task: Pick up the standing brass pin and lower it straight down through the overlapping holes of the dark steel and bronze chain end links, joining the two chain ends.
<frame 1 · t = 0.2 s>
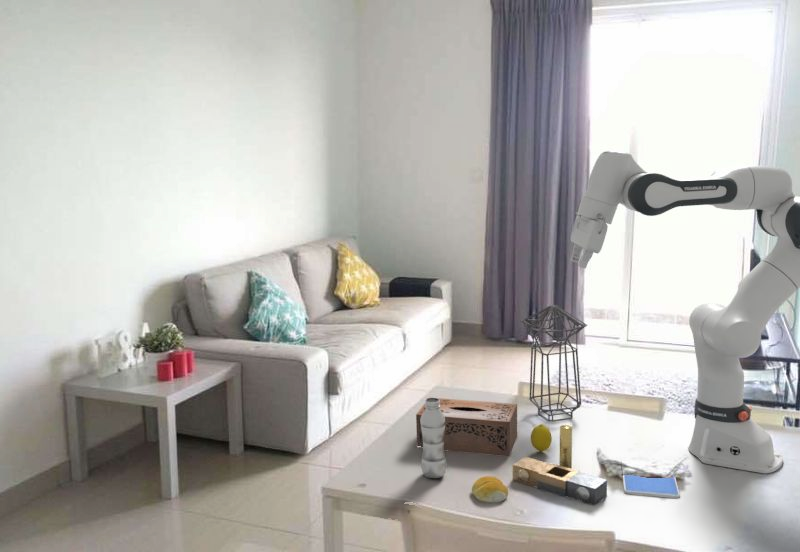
hand: (577, 264, 187), 52 cm above the table, tool tilted 20°, fingers open, 8 cm apart
bronze chain end: (558, 487, 177), on the table
tablet computer: (648, 481, 180), on the table
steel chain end: (558, 487, 177), on the table
lemon: (541, 453, 198), on the table
brass pin: (565, 468, 187), on the table
bread roll: (490, 496, 174), on the table
plastic bottle: (434, 476, 185), on the table
geometric lantern: (552, 417, 224), on the table
tissue box cover: (467, 443, 206), on the table
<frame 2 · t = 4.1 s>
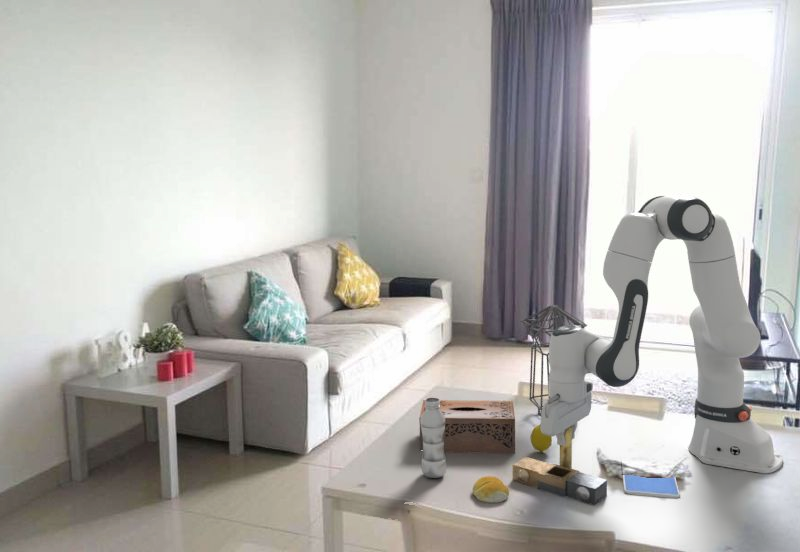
hand: (565, 441, 186), 7 cm above the table, tool pointing down, fingers closed on brass pin, 3 cm apart
brass pin: (565, 468, 187), on the table, touching gripper
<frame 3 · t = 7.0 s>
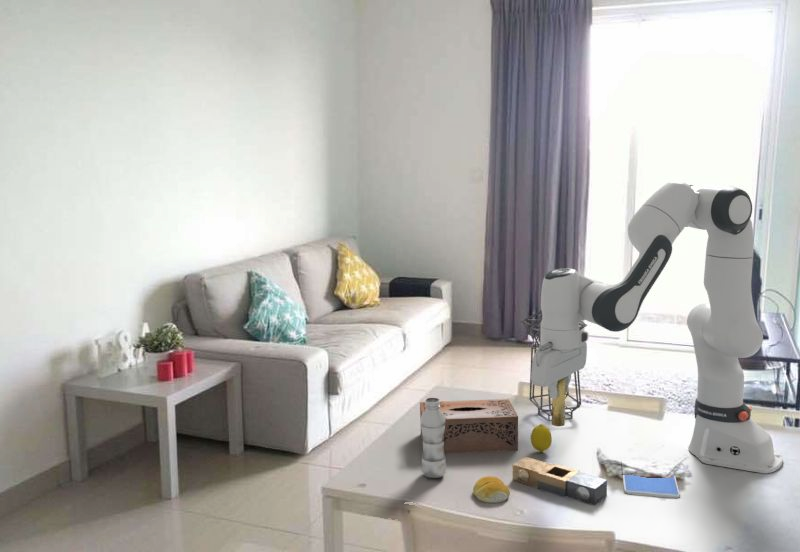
hand: (558, 395, 173), 23 cm above the table, tool pointing down, fingers closed on brass pin, 3 cm apart
brass pin: (558, 424, 174), point 16 cm above the table, touching gripper
when the fingers open (9 cm above the table, at t = 9.9 s): brass pin drops 1 cm, resting in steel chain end.
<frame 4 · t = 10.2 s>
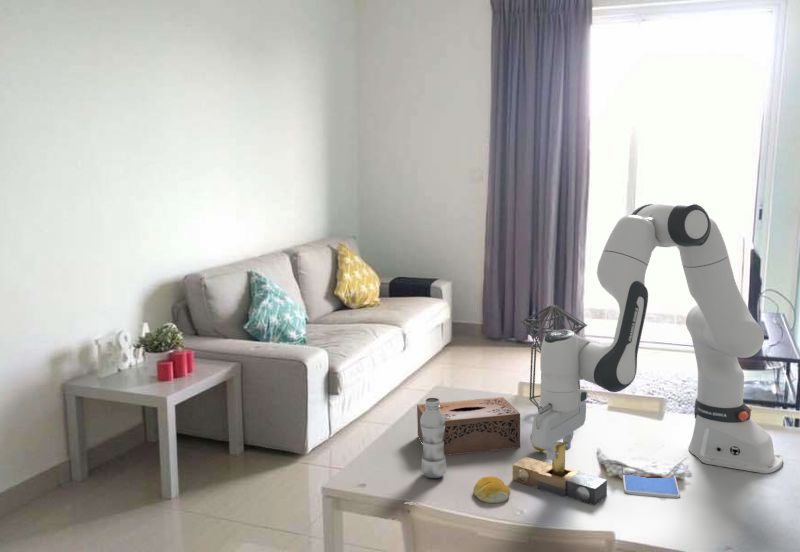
hand: (558, 453, 175), 9 cm above the table, tool pointing down, fingers open, 5 cm apart
brass pin: (558, 487, 177), resting in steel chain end
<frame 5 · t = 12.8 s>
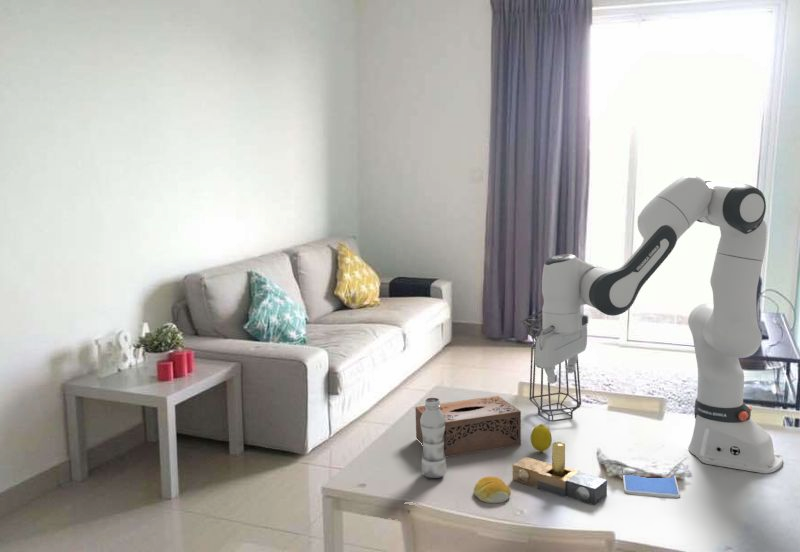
hand: (561, 377, 178), 26 cm above the table, tool pointing down, fingers open, 8 cm apart
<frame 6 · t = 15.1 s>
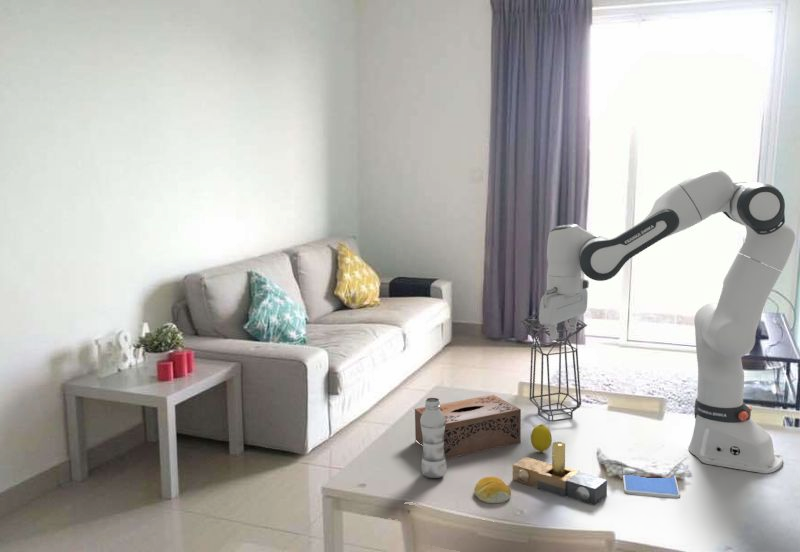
hand: (563, 335, 197), 31 cm above the table, tool pointing down, fingers open, 8 cm apart
at the end: brass pin 0.1 cm off-centre on the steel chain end, point 0.0 cm above the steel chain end's base; brass pin tilted 0°; the gripper is holding nothing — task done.
